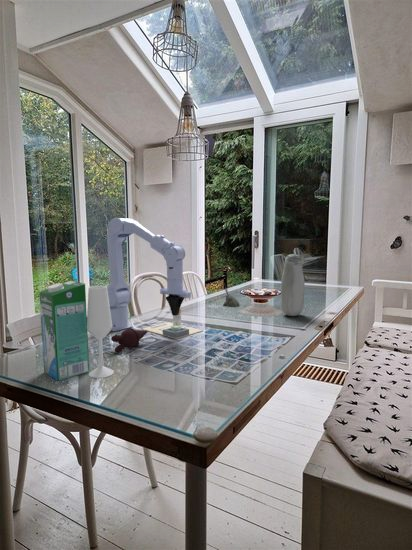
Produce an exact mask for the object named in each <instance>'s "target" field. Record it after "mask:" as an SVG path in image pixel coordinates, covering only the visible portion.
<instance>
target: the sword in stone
mask: <svg viewBox="0 0 412 550" xmlns="http://www.w3.org/2000/svg"><path fill="white" fill-rule="evenodd" d="M223 285H224V288H225V289H224V291H225V293H226V295H225V301H224V303H223V304H222V306H223V307H229V308H230V307H231V308H239V307H240V306H241V305H240V302H239V301H238V300H237V299H236V298H235V297H234V296H231V295H229V290H228V288H227V286H226V283H225V282H224V283H223Z"/></svg>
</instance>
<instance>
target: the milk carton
mask: <svg viewBox="0 0 412 550" xmlns="http://www.w3.org/2000/svg"><path fill="white" fill-rule="evenodd" d="M38 293H39V308H40V309H39V310H40V312H39V313H40V323H41V324H40V327H41V342H42V343H41V344H42V359H43V371H44V373H45V374H47V375H48V376H50V377H51V378H53V379H55V380H56V381H58V382H59V381H62V380H65V379H68V378H72V377H76V376H79V375H83V374H87V373H90V357H89V337H88V336H89V335H88V333H89V332H88V330H87V295H86V293H87V292H86V283H84V282H79V281H73V280H68V281H65V282H58V283H53V284H51V285H49V286H47V288H46V289H44V290H41V291H39V292H38Z"/></svg>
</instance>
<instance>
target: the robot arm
mask: <svg viewBox="0 0 412 550" xmlns="http://www.w3.org/2000/svg"><path fill="white" fill-rule="evenodd" d="M107 229H108V232H107V236H106V242H107V243H106V246H107V255H108V258H107V259H108V266H109V267H108V269H109V279H110V281H109V283H108V285H106V286H107V291H108V298H109V306H110V313H111V320H112V328H111V330H110V332H117V331H121V330H126V329H128V328H133V327H134V325H132V324H129V302H131V300H132V293H131V291H130V285H129V284H128V283H127V282H126V281H125V269H124V258H123V247H122V246H123V245H122V242H123V241H125V239H126V238H128V237H130V236H131V235H133V234H134V235H136V236H137V237H139V238H141V239H143V240H144V241H146V242H148V243H149V244H150V245H149V246H150V248H151V249H153V250H154V251H156V252H157V253H159V254H160V255H161V256H163V258H164V260H165V262H166V283H167V284H166V285H167V288H160V289H159V291H160V292H159V293H160V295H167V296H166V297H165V300H166V302H167V304H168V305H169V308H170V312H171V316H173V315H174V316H176V315H178V314H179V310H180V308H181V307H182V304H183V301H184V300H185V299H191V298H192V293H191V291H190V292H189V291H186V290H185V289H184V281H183V280H184V279H183V278H184V277H183V276H184V274H183V272H184V271H183V270H184V269H183V263H184V262H183V260H184V259H185V257H186V251H185V249H184V247H182V246H181V245H178V244H177V245H176V244H175V242H173V241H170V240H168V239H167V238H165V237H166V236H165V235H163V234H156V235H155V234H154V233H153V232H151V231H150V230H149V229H147V228H146V227H144V226H143V225H142V224H141V223H140V222H139V221H138V220H135V219H134V218H131V217H128V218H127V217H124V218H122V217H114V218H112V219H111V220H110V221H109V222H108V224H107Z"/></svg>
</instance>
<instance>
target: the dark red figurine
mask: <svg viewBox="0 0 412 550" xmlns="http://www.w3.org/2000/svg"><path fill="white" fill-rule="evenodd" d="M148 332H149V331H145V330H142V329H141V330H139V329H137V330H136V329H134V328H133V327H130V328H126V329H123V331H122V332H121V333H120V334H114V335H112V336H111V338H110V340H111V342H113V343H118V345H117V346H116V347H115V348H114V353H116V354H117V353H120V352H122V351H124V350H125V349H133V348H137V347H138V346H139V345H140V341H141V340H142V339H143V338H144V336H145V335H146V334H147V333H148Z"/></svg>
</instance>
